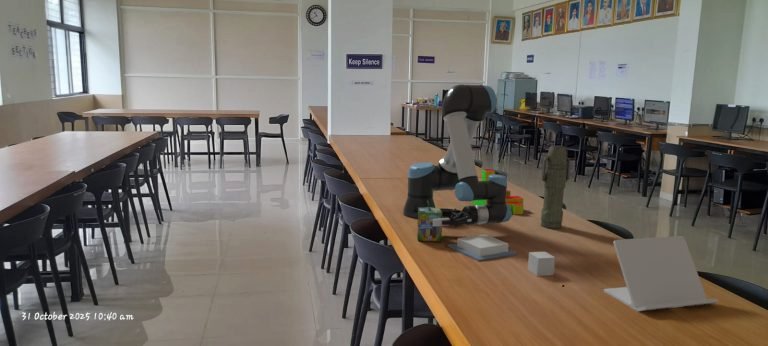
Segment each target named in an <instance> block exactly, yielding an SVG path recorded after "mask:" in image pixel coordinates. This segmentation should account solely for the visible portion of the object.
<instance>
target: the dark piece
mask: <svg viewBox="0 0 768 346" xmlns="http://www.w3.org/2000/svg"><path fill="white" fill-rule="evenodd" d="M567 153H568V152H567V149H566V146H564V145H555V144H554V145H551V146H550V147H549V149H548V153H547V156H544V157H543V159H542V165H541V166H542V167H541V181H542V182H543V187H544V190H543V191H544V194H543V204H542V209H541V215H540V226H541V227H543V228H545V229H549V230H550V229H552V230H559V229H560V230H561V229H562V223H563V219H564V218H563V216H564V211H563V203H564V192H565V188H566V184H567V182H568V181H569V180H570V171H571V162H572V161H571V159H570V157H567Z"/></svg>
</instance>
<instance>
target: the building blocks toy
mask: <svg viewBox="0 0 768 346" xmlns="http://www.w3.org/2000/svg"><path fill="white" fill-rule="evenodd" d="M481 171H482V172H481V181H488V176H489V175H496V171H495V170H493V169H482V170H481ZM471 202H472V204H474V206H475V205H487V200H476V201H471ZM506 204H508V205H509V206H510V207H511V212H512V215H513V216H514V215H515V214H524V198H523V197H521V196H519V195H511V191H510V190H509V189H507V191H506Z"/></svg>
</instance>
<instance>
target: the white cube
mask: <svg viewBox="0 0 768 346" xmlns="http://www.w3.org/2000/svg"><path fill="white" fill-rule="evenodd" d="M555 261H556V257H555V256H553V255H551V254H550V253H548V252H547V251H533V252H532V251H531V252H530V251H529V252H528V261H527V270H528V271H529V272H530V273H532V274H534V275H535V276H536V277H539V276H553V275H554V273H555V272H554V271H555Z"/></svg>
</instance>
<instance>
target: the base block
mask: <svg viewBox="0 0 768 346" xmlns="http://www.w3.org/2000/svg"><path fill="white" fill-rule="evenodd" d="M456 241H457V243H456V244H457V246H458V247H460V248H462V249H465V250H467V251H469V252H471V253H473V254H475V255H478V256H485V255H491V254H497V253H503V252H508V249H509V243H508V242H505V241H502V240H500V239H498V238H495V237H492V236H490V235H487V234H485V233H484V234H479V235H471V236H463V237H458V238H457V239H456Z"/></svg>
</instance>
